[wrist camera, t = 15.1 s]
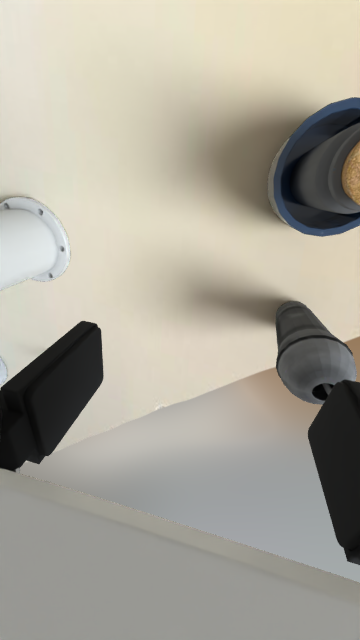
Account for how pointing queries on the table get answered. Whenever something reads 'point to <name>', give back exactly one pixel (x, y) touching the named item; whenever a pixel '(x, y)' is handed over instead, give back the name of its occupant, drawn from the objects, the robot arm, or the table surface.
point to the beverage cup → (310, 354)
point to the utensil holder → (2, 371)
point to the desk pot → (291, 151)
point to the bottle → (330, 174)
